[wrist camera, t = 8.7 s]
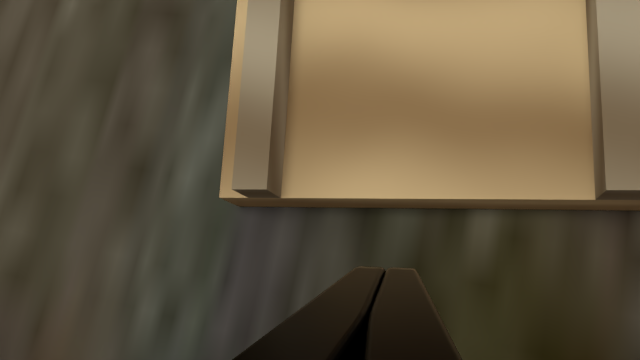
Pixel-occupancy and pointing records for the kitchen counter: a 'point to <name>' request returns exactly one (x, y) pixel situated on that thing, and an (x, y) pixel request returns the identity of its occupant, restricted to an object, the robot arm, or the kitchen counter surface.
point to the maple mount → (434, 104)
